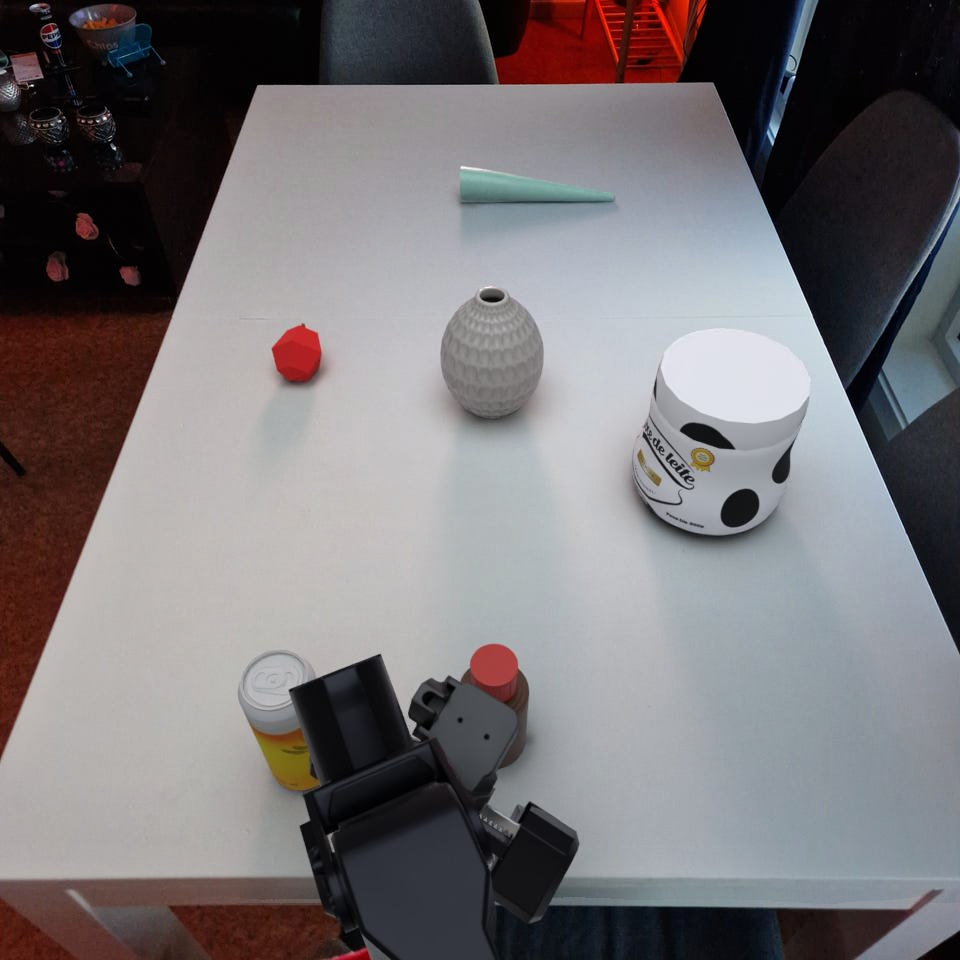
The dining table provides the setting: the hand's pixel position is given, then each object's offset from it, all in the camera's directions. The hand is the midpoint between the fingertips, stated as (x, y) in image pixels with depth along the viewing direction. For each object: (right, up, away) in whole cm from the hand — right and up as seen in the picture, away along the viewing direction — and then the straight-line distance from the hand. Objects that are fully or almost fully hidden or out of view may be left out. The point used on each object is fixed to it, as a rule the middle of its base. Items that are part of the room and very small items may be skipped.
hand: (466, 778), depth 64 cm
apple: (-23, +38, +48) cm, 66 cm away
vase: (+3, +33, +44) cm, 55 cm away
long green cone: (+11, +72, +79) cm, 108 cm away
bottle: (+2, -1, +12) cm, 12 cm away
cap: (+2, +6, +5) cm, 8 cm away
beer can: (-15, -2, +11) cm, 19 cm away
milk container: (+27, +22, +33) cm, 48 cm away
